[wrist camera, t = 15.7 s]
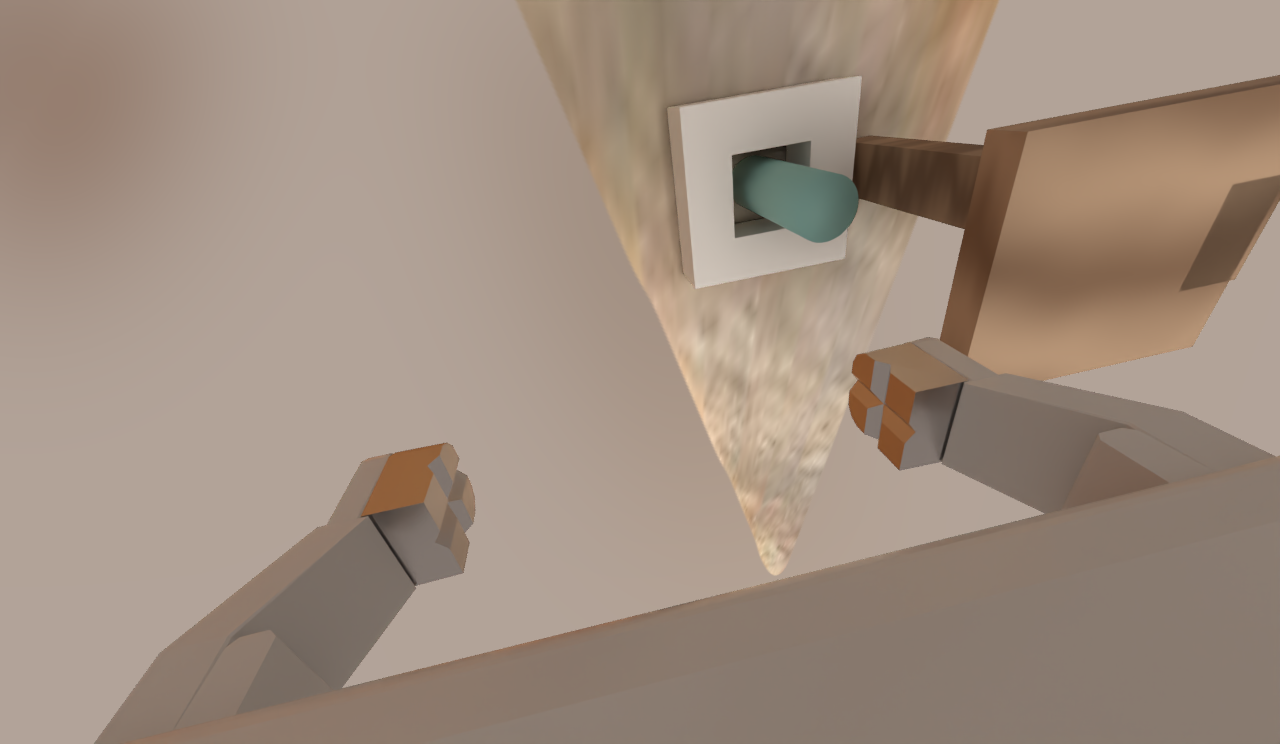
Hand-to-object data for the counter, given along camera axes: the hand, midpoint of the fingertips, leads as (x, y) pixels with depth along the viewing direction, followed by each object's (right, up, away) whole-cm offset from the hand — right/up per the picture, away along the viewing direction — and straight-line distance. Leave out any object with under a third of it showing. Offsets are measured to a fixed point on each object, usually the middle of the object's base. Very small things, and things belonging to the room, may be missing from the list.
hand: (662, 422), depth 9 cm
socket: (+9, +17, +29) cm, 34 cm away
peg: (+9, +17, +28) cm, 34 cm away
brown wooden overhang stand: (+13, +18, +29) cm, 36 cm away
